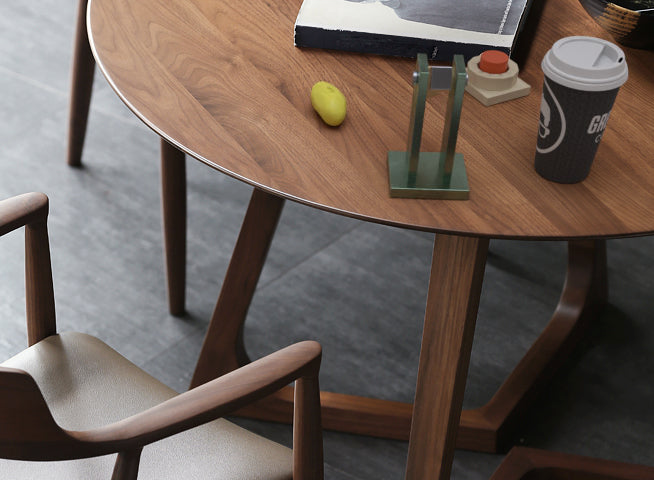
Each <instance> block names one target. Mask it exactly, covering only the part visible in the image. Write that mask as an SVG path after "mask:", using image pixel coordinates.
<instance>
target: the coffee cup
mask: <svg viewBox="0 0 654 480" xmlns="http://www.w3.org/2000/svg"><path fill="white" fill-rule="evenodd" d="M540 67H541V70H542V72H543V81H542V82H543V83H542V92H541V100H540V101H541V102H540V110H539V119H538V127H537V137H536V145H535V155H534V163H533V167H534V170H535V171H536V173H537V174H538V175H539V176H540V177H542V178H544V179H545V180H548V181H550V182H554V183H558V184H567V185H568V184H575V183H576V184H577V183H579V182H582V181H584V180H586V178H588V176H589V174H590V171H591V168H592V166H593V163H594V161H595V157H596V155H597V152H598V149H599V146H600V143H601V140H602V139H603V135H604V132H605V130H606V127H607V124H608V121H609V119H610V116H611V113H612V110H613V107H614V105H615V102H616V100H617V98H618V97H617V96H618V94H619V91H620V89H621V86H622V85H624V84H625V83H626V82H627V81H628V79H629V68H628V63H627V61H626V56H625V52H624V51H623V50H622V48H620V47H619V46H618V45H616V44H615V43H613V42H611V41H608V40H605V39H603V38H598V37H594V36H589V35H588V36H586V35H573V36H572V35H571V36H566V37H563V38H560V39H558V40H557V41H555V42H554V44H552V47H551V48H550V49H549V50H548V51H547V52H546V53H545V55H544V56H543V58H542V60H541V63H540Z"/></svg>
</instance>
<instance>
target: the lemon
mask: <svg viewBox="0 0 654 480" xmlns="http://www.w3.org/2000/svg"><path fill="white" fill-rule="evenodd" d="M310 102H311V105H312V107H313V109H314V110H315V111H316V112H317V114H318V115H319V116H320V117H321V119H322V121H324V122H325V123H326V124H327V125H329V126H332V127H337V126H339V125H341V124H342V123H343V121H344V120H345V118H346V116H347V108H348V103H347V98H346V97H345V95H344V94H343V93H342V91H340V89H339V88H337V86H335V85H333V84H332V83H329V82H327V81H323V80H322V81H318V82H316V83H315V84H314V85H313V86H312V88H311V92H310Z"/></svg>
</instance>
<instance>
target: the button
mask: <svg viewBox="0 0 654 480" xmlns="http://www.w3.org/2000/svg"><path fill="white" fill-rule="evenodd" d="M480 55H481V58H480V65H479V69H480V70H481V71H483V72H486V73H489V74H502V73H505V72H506V71H507V65H508V60H509V59H510V58H509V55H508V54H507V53H505V52H503V51H500V50H493V49H491V50H486V51H483V52H482V53H481V54H480Z"/></svg>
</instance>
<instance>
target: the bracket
mask: <svg viewBox="0 0 654 480" xmlns="http://www.w3.org/2000/svg"><path fill="white" fill-rule="evenodd" d="M452 58H453V59H452V66H451V67H452V81H451V90H448V95H447V101H446V107H445V108H446V110H445V115H444V116H445V117H444V123H443V130H442V137H441V144H440V152H439V151H421V145H422V136H423V130H424V129H423V128H424V120H425V113H426V105H427V89H428V81H429V67H428V66H429V61H428V55H427V53H417V55H416V64H415V70H413V71H412V72H411V85H413V89H412V99H411V106H410V116H409V125H408V133H407V140H406V150H387V154H386V167H387V177H388V189H389V197H390V198H392V199H393V198H396V199H397V198H400V199H426V200H427V199H428V200H429V199H431V200H457V201H458V200H461V201H468V200H469V198H470V197H469V196H470V185H469V180H468V174H467V169H466V164H465V158H464V153H463V152H456V149H457V142H458V137H459V127H460V122H461V116H462V109H463V102H464V96H465V91H466V90H465V86H467V84H468V73H466V68H467V67H466V63H465V58H464V55H463V54H454V55H453V57H452Z"/></svg>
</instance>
